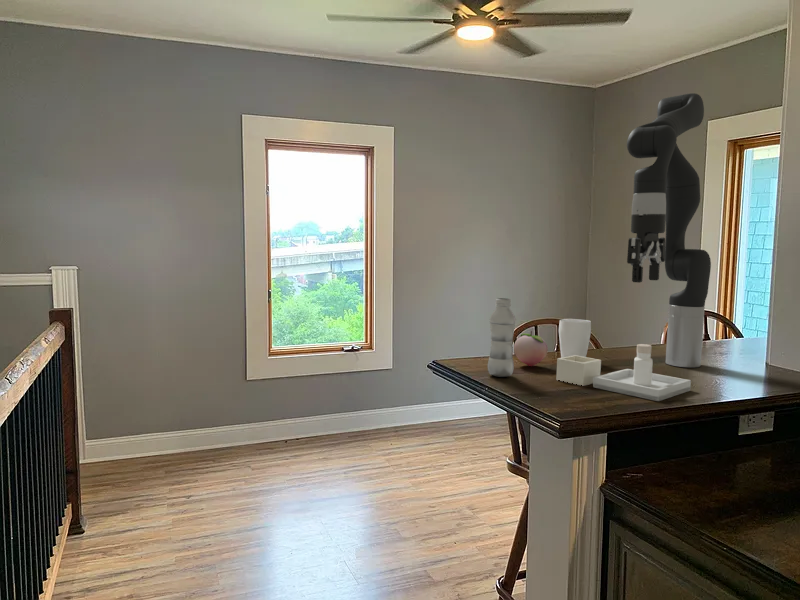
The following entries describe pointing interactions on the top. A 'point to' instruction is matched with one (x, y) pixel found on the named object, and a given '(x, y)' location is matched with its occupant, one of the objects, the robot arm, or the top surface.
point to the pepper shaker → (643, 365)
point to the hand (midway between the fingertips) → (645, 281)
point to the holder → (578, 369)
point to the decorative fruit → (530, 349)
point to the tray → (657, 391)
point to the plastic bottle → (501, 339)
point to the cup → (574, 337)
